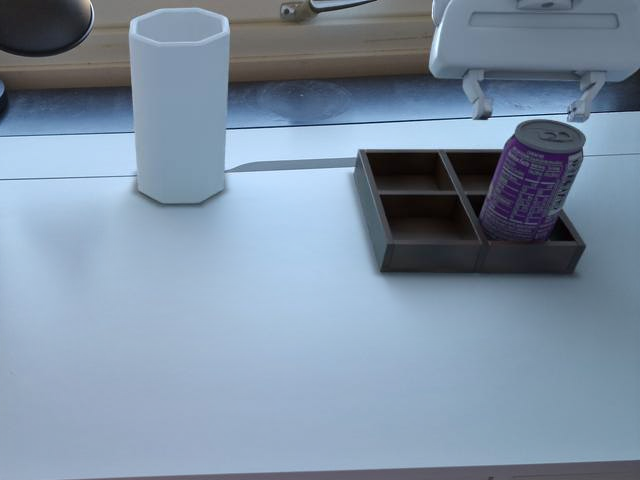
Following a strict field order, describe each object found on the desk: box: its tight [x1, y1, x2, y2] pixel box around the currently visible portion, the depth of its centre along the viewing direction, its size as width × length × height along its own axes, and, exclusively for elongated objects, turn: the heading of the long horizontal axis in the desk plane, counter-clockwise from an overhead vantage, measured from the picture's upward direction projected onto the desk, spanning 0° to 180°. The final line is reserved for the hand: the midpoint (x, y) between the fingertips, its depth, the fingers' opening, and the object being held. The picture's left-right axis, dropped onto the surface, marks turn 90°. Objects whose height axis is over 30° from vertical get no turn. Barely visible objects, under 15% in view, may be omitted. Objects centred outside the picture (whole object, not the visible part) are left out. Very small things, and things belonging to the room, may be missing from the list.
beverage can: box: [478, 118, 587, 241], centre depth 70 cm, size 7×7×12 cm
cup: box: [128, 7, 231, 205], centre depth 79 cm, size 11×11×18 cm
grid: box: [353, 148, 587, 275], centre depth 77 cm, size 19×19×4 cm
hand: (529, 119), depth 71 cm, fingers open, 8 cm apart
